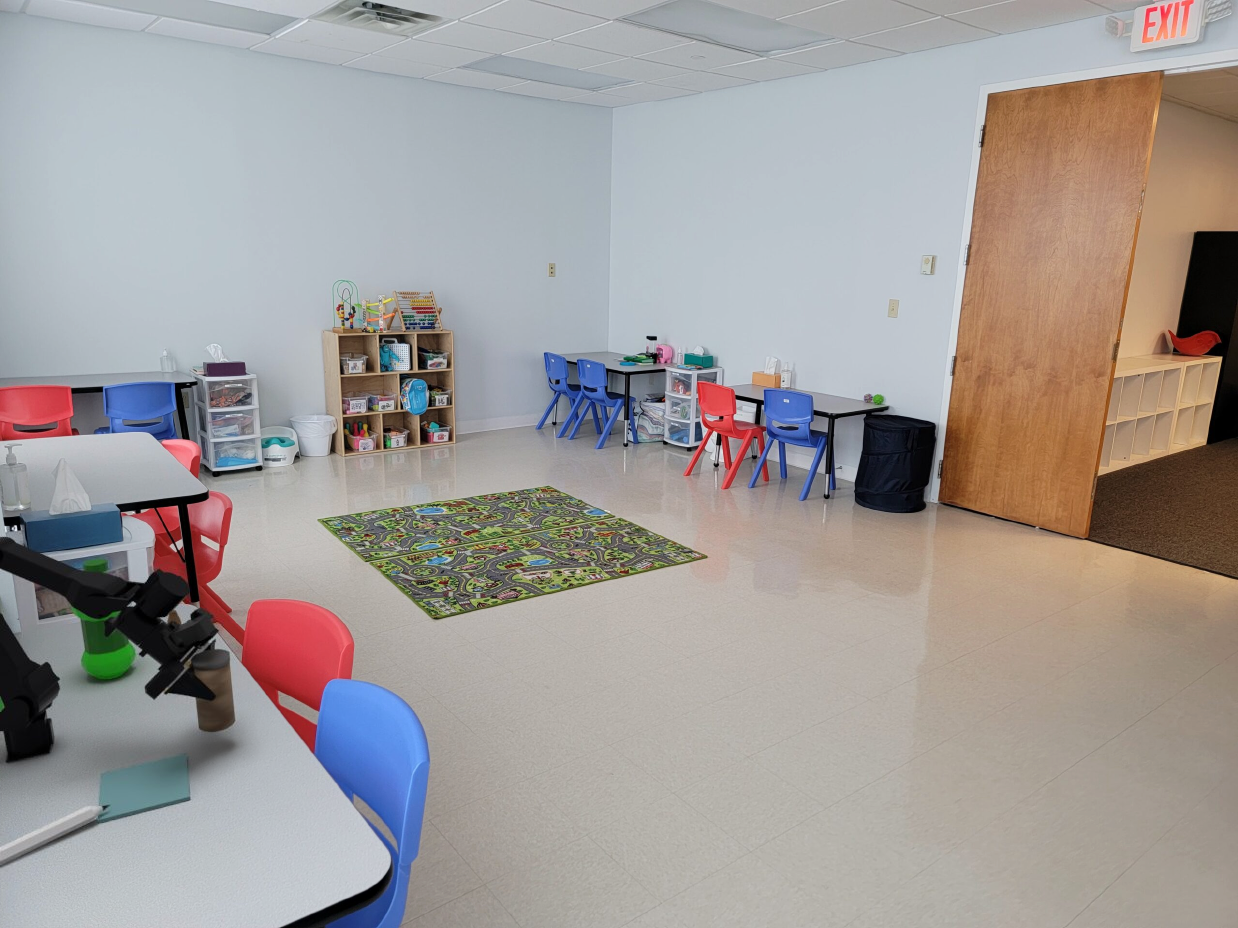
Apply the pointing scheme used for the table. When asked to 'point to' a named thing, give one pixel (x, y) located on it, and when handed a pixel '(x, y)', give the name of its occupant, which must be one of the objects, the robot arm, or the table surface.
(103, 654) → the plastic bottle
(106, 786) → the mat
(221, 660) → the brown upright cylinder
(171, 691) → the robot arm
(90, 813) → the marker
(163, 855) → the table surface
